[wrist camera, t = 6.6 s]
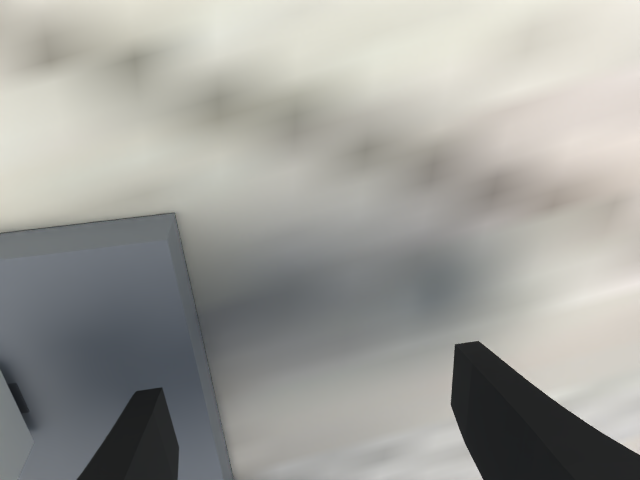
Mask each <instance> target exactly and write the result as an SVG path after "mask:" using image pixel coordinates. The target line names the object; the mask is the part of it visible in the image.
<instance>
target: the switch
mask: <svg viewBox="0 0 640 480" xmlns="http://www.w3.org/2000/svg"><path fill="white" fill-rule="evenodd" d="M33 443H34V440H33V438H32V436H31V434H30V432H29V430H28V428H27V425H26V423H25V421H24V419H23V417H22V415H21V413H20V411H19V408H18V406H17V404H16V402H15V400H14V398H13V396H12V394H11V391H10V389H9V387H8V385H7V383H6V381H5V379H4V377H3V374H2V372H1V370H0V480H17V479H18V477H19V475H20V473H21V470H22V468H23V466H24V464H25V461H26V459H27V457H28V454H29V452H30V450H31V448H32V445H33Z"/></svg>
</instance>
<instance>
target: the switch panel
mask: <svg viewBox="0 0 640 480" xmlns="http://www.w3.org/2000/svg"><path fill="white" fill-rule="evenodd" d="M0 370H1V372H2V374H3V377H4V379H5V381H6V383H7V385H8V387H9V389H10V391H11V394H12V396H13V398H14V400H15V402H16V404H17V406H18V408H19V411H20V413H21V415H22V417H23V419H24V421H25V423H26V425H27V428H28V430H29V432H30V434H31V436H32V438H33V440H34V443H33V445H32V448H31V450H30V452H29V454H28V457H27V459H26V461H25V464H24V466H23V468H22V470H21V473H20V475H19V477H18V479H17V480H77V478H78V477H79V476H80V474H81V473H82V472H83V470H84V469H85V467H86V466H87V464H88V463H89V462H90V460H91V459H92V457H93V456H94V454H95V453H96V451H97V450H98V448H99V447H100V445H101V444H102V443H103V441H104V440H105V438H106V436H107V435H108V433H109V432H110V430H111V429H112V427H113V426H114V424H115V423H116V421H117V419H118V418H119V416H120V415H121V413H122V411H123V410H124V408H125V407H126V405H127V403H128V402H129V400H130V399H131V397H132V395H133V394H134V393H135V392H136V391H140V390H146V389H153V388H160V387H162V388H163V392H164V395H165V399H166V402H167V406H168V409H169V413H170V416H171V420H172V423H173V427H174V431H175V434H176V438H177V441H178V445H179V464H178V480H234V479H233V474H232V470H231V465H230V461H229V456H228V452H227V447H226V443H225V438H224V434H223V429H222V425H221V420H220V416H219V411H218V407H217V402H216V398H215V393H214V389H213V384H212V380H211V375H210V371H209V366H208V361H207V357H206V352H205V348H204V343H203V339H202V334H201V330H200V325H199V321H198V316H197V312H196V307H195V303H194V298H193V294H192V289H191V285H190V280H189V276H188V271H187V267H186V262H185V258H184V253H183V249H182V244H181V240H180V235H179V231H178V226H177V222H176V217H175V213H171V214H163V215H154V216H146V217H137V218H129V219H120V220H112V221H103V222H95V223H86V224H77V225H69V226H60V227H52V228H43V229H35V230H26V231H18V232H9V233H1V234H0Z"/></svg>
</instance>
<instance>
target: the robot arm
mask: <svg viewBox="0 0 640 480" xmlns="http://www.w3.org/2000/svg"><path fill="white" fill-rule="evenodd" d="M451 407H452V409H453V412H454V415H455V418H456V421H457V423H458V426H459V429H460V431H461V434H462V437H463V439H464V442H465V444H466V446H467V448H468V450H469V452H470V454H471V456H472V458H473V460H474V462H475V464H476V466H477V468H478V470H479V472H480V474H481V476H482V478H483V480H640V455H639V454H637V453H635V452H633V451H632V450H630V449H628V448H627V447H625V446H623V445H621V444H620V443H618V442H616V441H615V440H613V439H611V438H610V437H608V436H606V435H605V434H603V433H601V432H600V431H598V430H597V429H595V428H594V427H592V426H590V425H589V424H587V423H586V422H584V421H583V420H581V419H580V418H579V417H577V416H576V415H574V414H573V413H571V412H570V411H568V410H567V409H565V408H564V407H562V406H561V405H560V404H558V403H557V402H556V401H554V400H553V399H551V398H550V397H549V396H547V395H546V394H545V393H543V392H542V391H541V390H539V389H538V388H537V387H535V386H534V385H533V384H531V383H530V382H529V381H528V380H526V379H525V378H524V377H523V376H521V375H520V374H519V373H518V372H516V371H515V370H514V369H513V368H511V367H510V366H509V365H508V364H506V363H505V362H504V361H503V360H501V359H500V358H499V357H498V356H496V355H495V354H494V353H493V352H492V351H490V350H489V349H488V348H487V347H485V346H484V345H483V344H482V343H480V342H479V341H476V342H469V343H462V344H455V352H454V367H453V381H452V396H451ZM178 464H179V445H178V441H177V438H176V434H175V431H174V427H173V423H172V420H171V416H170V413H169V409H168V406H167V402H166V399H165V395H164V392H163V388H162V387H160V388H153V389H146V390H140V391H136V392H135V393H134V394H133V395H132V397H131V399H130V400H129V402H128V403H127V405H126V407H125V408H124V410H123V411H122V413H121V415H120V416H119V418H118V419H117V421H116V423H115V424H114V426H113V427H112V429H111V430H110V432H109V433H108V435H107V436H106V438H105V440H104V441H103V443H102V444H101V445H100V447H99V448H98V450H97V451H96V453H95V454H94V456H93V457H92V459H91V460H90V462H89V463H88V464H87V466H86V467H85V469H84V470H83V472H82V473H81V474H80V476H79V477H78V478H77V480H178Z"/></svg>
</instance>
